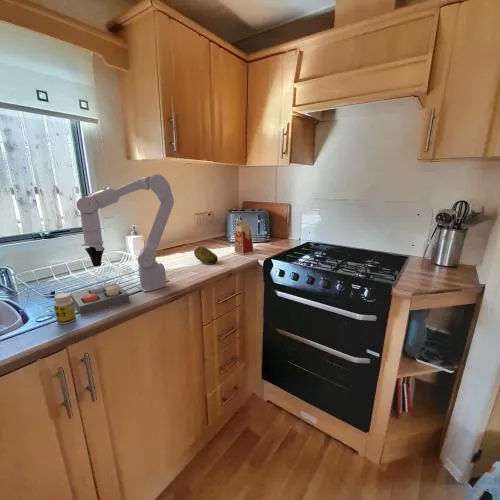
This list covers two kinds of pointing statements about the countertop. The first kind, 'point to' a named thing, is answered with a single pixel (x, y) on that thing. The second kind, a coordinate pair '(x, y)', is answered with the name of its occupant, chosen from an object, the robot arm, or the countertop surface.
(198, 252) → the olive green oval lump
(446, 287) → the countertop surface
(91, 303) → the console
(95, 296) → the button red
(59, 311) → the supplement bottle
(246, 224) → the milk carton
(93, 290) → the button slate
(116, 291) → the button ivory
